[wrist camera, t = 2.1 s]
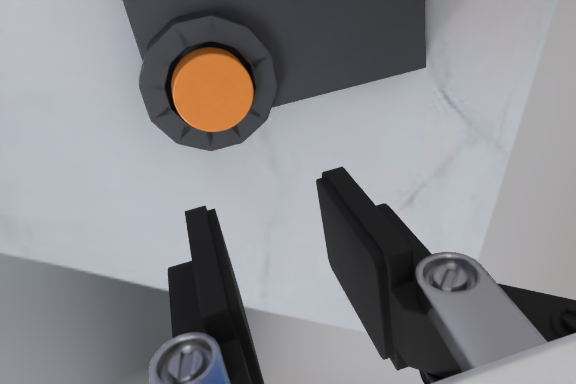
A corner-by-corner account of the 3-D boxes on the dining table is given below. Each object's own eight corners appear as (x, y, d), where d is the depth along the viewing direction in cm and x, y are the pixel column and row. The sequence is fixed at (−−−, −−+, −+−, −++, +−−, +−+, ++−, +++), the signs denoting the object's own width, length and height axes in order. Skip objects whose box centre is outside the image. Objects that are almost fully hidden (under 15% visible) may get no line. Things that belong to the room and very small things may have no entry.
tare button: (183, 130, 26) (185, 141, 24) (160, 56, 24) (162, 64, 22) (255, 111, 26) (260, 121, 25) (239, 38, 24) (244, 44, 23)
